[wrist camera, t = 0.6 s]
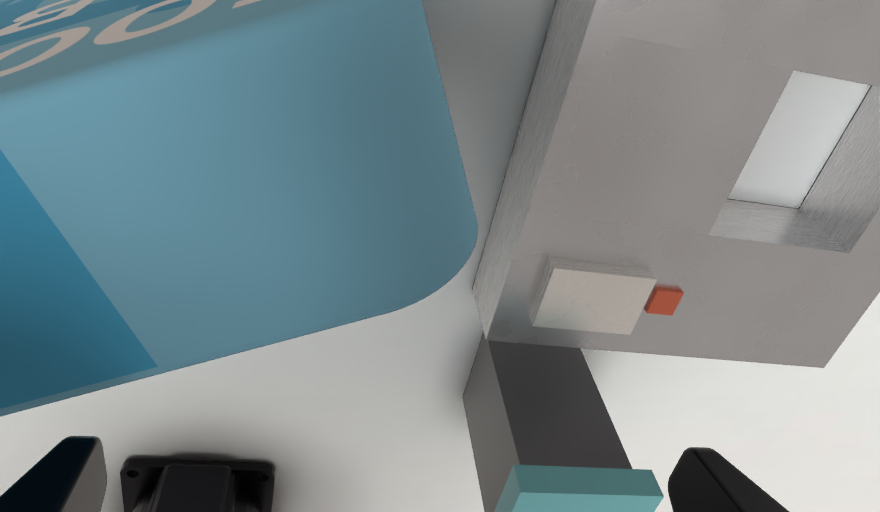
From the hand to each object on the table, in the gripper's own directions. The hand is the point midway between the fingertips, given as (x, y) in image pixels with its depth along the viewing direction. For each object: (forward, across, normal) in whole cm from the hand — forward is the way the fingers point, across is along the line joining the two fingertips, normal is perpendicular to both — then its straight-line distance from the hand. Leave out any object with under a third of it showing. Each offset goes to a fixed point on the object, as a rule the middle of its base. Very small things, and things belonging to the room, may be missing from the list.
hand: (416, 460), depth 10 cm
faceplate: (+13, -12, -1) cm, 17 cm away
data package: (+13, +5, -2) cm, 14 cm away
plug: (+13, -7, +10) cm, 18 cm away
